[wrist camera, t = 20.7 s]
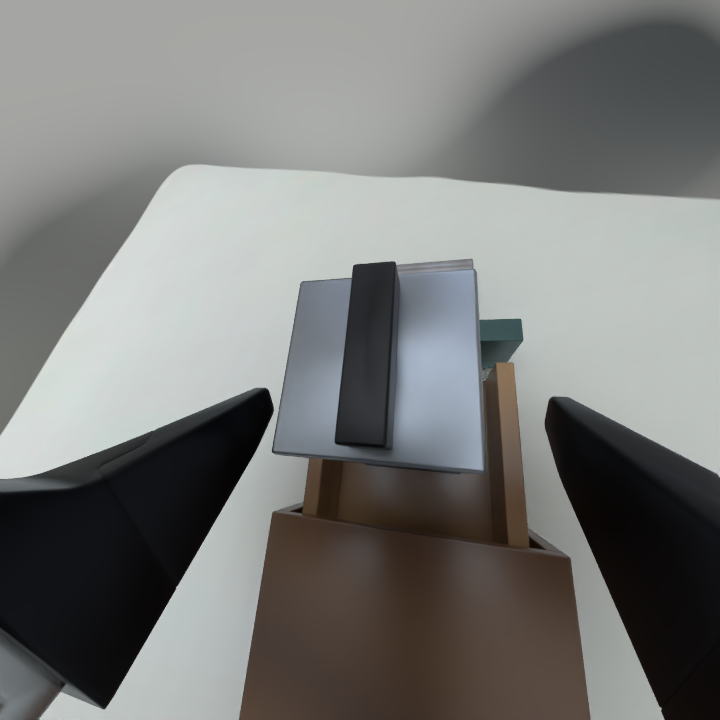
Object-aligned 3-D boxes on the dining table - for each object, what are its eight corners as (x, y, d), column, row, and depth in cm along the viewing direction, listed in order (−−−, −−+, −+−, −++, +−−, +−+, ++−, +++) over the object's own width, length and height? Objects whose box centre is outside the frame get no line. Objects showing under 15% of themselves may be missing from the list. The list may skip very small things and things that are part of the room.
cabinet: (320, 496, 19) (271, 511, 14) (523, 523, 16) (571, 557, 10) (289, 758, 15) (203, 935, 10) (551, 861, 12) (652, 1211, 6)
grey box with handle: (460, 473, 16) (528, 508, 4) (366, 464, 17) (224, 472, 6) (458, 380, 18) (502, 222, 6) (372, 378, 19) (272, 247, 7)
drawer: (347, 294, 23) (327, 256, 19) (497, 285, 20) (513, 238, 16) (320, 530, 18) (285, 551, 14) (517, 562, 15) (550, 602, 11)
